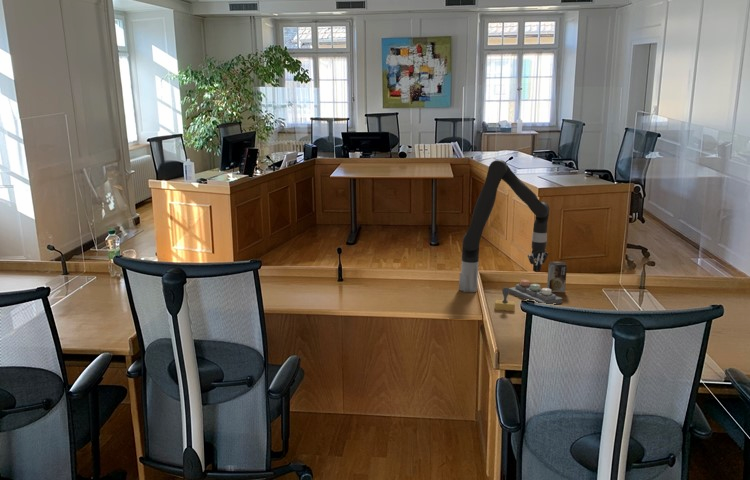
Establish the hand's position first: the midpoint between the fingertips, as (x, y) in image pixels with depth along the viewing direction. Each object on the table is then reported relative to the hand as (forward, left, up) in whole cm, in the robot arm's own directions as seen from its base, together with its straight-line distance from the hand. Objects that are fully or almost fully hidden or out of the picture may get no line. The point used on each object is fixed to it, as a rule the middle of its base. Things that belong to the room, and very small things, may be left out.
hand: (536, 271), depth 333 cm
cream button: (0, -8, -11) cm, 13 cm away
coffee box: (+19, +3, -15) cm, 25 cm away
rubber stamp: (-26, -5, -15) cm, 31 cm away
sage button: (0, 0, -11) cm, 11 cm away
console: (0, 0, -15) cm, 15 cm away
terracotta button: (0, +8, -11) cm, 13 cm away
